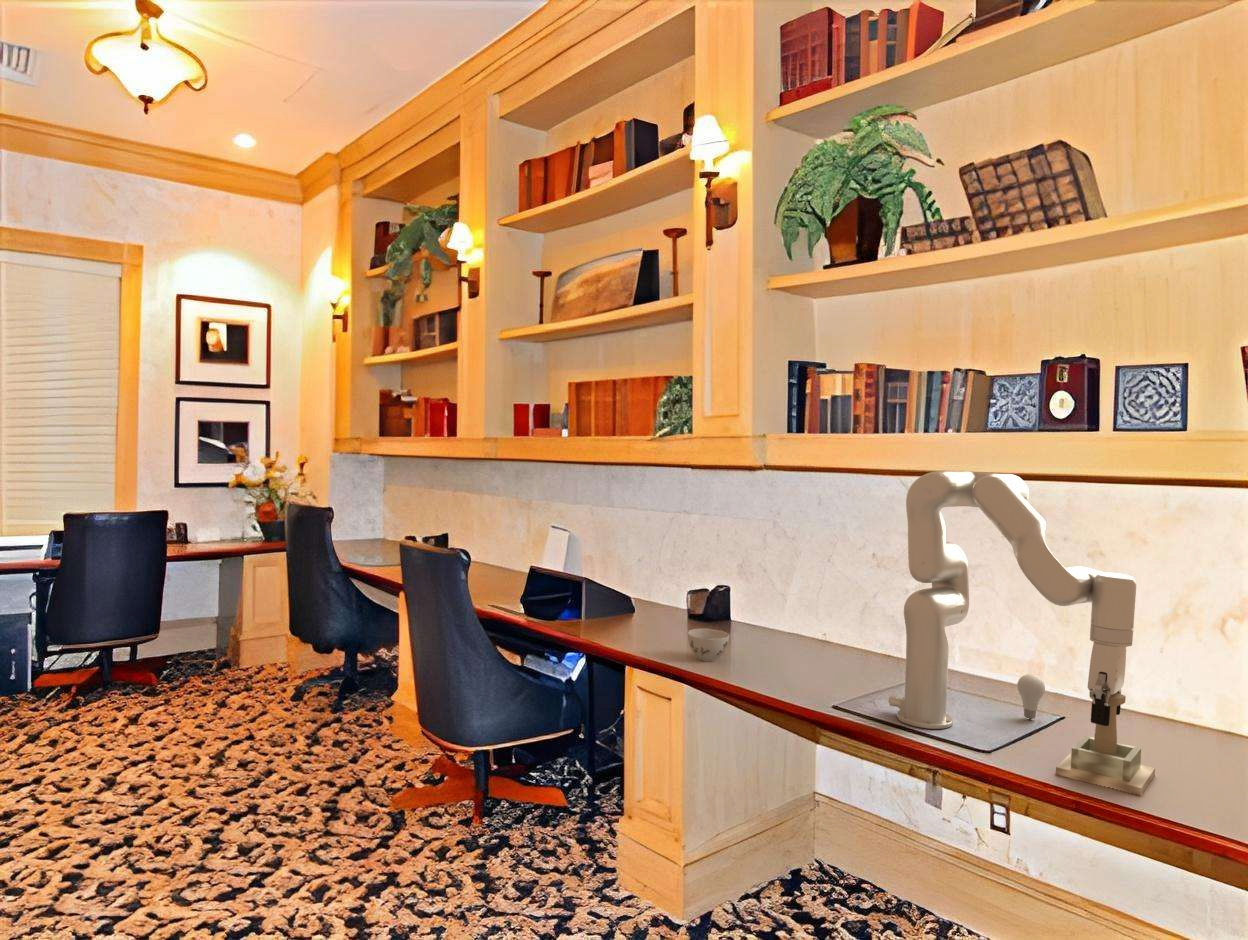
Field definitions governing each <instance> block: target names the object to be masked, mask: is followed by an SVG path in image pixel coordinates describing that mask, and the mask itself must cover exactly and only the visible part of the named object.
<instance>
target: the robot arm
mask: <svg viewBox="0 0 1248 940" xmlns="http://www.w3.org/2000/svg"><path fill="white" fill-rule="evenodd" d="M1029 492H1030V491H1029V487H1028V486H1027V484H1026V482H1025V481H1024V480H1023V479H1022V478H1021V477H1020V476H1017V475H1015V474H1011V473H992V472H982V471H968V470H967V471H966V470H936V471H931V472H927V473H926V474H923V475H921V476H919V477H918V478H916V479H915V480H914V482H912V484H911V485H910V487H909V489H908V491H907V494H906V499H905V509H906V518H907V550H908V551H907V552H908V553H907V555H908V569H909V573H910V575H911V577H912V578H913V579H914V580H915V581H916V582H919V583H922V584H931V587H928V588H922V589H919V590H916V591H914V592H913V593H911V594H910V595H909V596H908V597H907V598H906V600H905V602H904V605H903V606H904V607H903V617H904V625H905V635H906V636H905V637H906V640H905V641H906V643H905V647H906V649H905V671H904V672H905V673H904V674H905V677H904V696H903V697H902V698H901V697H898V696H896V695H889V697H888V704H889V706H891V707H896V708H898V709H899V710H898V711H897V713H896V717H897V720H898V721H900V722H902V723H904V724H906V725H909V726H913V727H917V728H922V729H929V730H930V729H932V730H939V729H940V730H942V729H947V728H950V727H952V726H953V724H954V719H953V717H951V715H949V714H947V702H948V701H947V697H948V678H949V677H948V675H949V673H948V672H949V643H948V642H949V641H948V637H947V634H946V627H950V626H951V627H952V626H954V625H957V624H960V623H961V622H963V621H964V620H965V618H967V616H968V613H969V608H970V587H969V585H970V583H969V580H970V579H969V562H968V559H967V556H966V554H965V552H964V551H963V549H962V548H961V547H960V546H959V545H958V544H956V543H954V542H952V541H947V538H946V537H947V536H946V531H947V530H946V523H945V519H944V517H943V514H942V512H941V509H943V508H947V507H949V508H950V507H951V508H954V507H971V508H979V509H980V510H981V512H982V513H983V514H984V515H985V516H986V518H988V519H989V520H990V522H991V523H992V524H993V525H994V526H995V527H996V529H998V532H1000V533H1001V535H1002V536H1003V537H1004V538H1005V539H1006V540H1007V541H1008V543H1009V544H1010V545H1011V547H1012V551H1013V554H1014V556H1015V557H1014V558H1015V559H1016V561H1017V564H1018V566H1019V568H1020V570H1021V572H1022V573H1023V574H1024V576H1025V577H1026V579H1027V580H1028V581H1029V582H1030V584H1031V585H1032V586H1033V587H1034V588H1035V589H1036V590H1037V591H1038V593H1040V594H1041V595H1042V597H1044V599H1046V600H1047V601H1048V602H1049V603H1051V604H1054V605H1055V606H1059V607H1067V606H1068V607H1069V606H1074V605H1077V604H1078V605H1079V604H1087V603H1091V614H1090V615H1091V617H1090V630H1089V640H1090V641H1091V642H1093V644H1092V648H1091V655H1090V660H1089V669H1088V679H1087V689H1088V691H1089V692H1090V691H1092V690H1093V689H1095V691H1094V695H1093V699H1091V700H1092V702H1091V711H1090V723H1092V724H1094V725H1096V724H1099V725H1103V726H1108V725H1109V720H1110V706H1109V701H1110V697H1111V695H1113V694H1115V693H1119V694H1122V688H1123V687H1124V683H1125V675H1126V662H1127V661H1126V660H1127V647H1132V646H1133V638H1134V626H1135V625H1134V624H1135V612H1136V611H1135V610H1136V607H1135V606H1136V599H1137V597H1136V595H1137V581H1136V580H1135V578H1134V577H1133V576H1130V575H1127V574H1124V573H1117V572H1116V573H1115V572H1103V571H1100V570H1096V569H1093V568H1090V567H1085V566H1072V567H1065V566H1064V565H1063V564H1062V563H1061V562H1060V561H1059V560H1058V559H1057V558H1056V557H1055V555H1054V554H1053V553H1052V551H1051V549H1050V548H1049V547H1048V545H1047V543H1046V540H1045V530H1046V527H1047V523H1046V521H1045V519H1044V518H1043V516H1042V515H1040V514H1039V513H1038V511H1036V509H1035V508H1034V507H1033V506H1032V505H1031V504H1030V503H1029V502H1028V500H1029V496H1030V495H1029V494H1030V493H1029ZM1105 695H1106V699H1105ZM1121 706H1122V705H1119V706H1117V709H1116V716H1119V715H1120V714H1121Z"/></svg>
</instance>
